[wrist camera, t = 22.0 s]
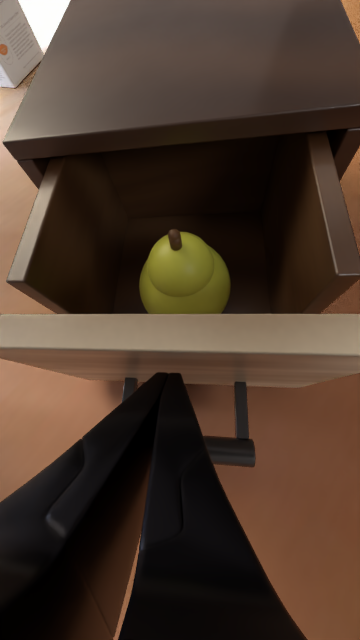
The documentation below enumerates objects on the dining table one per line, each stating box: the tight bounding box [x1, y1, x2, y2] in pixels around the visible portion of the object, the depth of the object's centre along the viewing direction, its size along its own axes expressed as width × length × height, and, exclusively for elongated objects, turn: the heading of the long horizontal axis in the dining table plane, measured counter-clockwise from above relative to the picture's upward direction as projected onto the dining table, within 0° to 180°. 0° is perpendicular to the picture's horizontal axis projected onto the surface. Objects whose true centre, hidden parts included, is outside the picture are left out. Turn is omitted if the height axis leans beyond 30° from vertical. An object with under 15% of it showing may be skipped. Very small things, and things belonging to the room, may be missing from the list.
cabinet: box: [3, 0, 360, 189], centre depth 16 cm, size 15×15×11 cm
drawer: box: [0, 131, 360, 467], centre depth 12 cm, size 17×13×9 cm
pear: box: [139, 229, 231, 314], centre depth 12 cm, size 5×5×7 cm
